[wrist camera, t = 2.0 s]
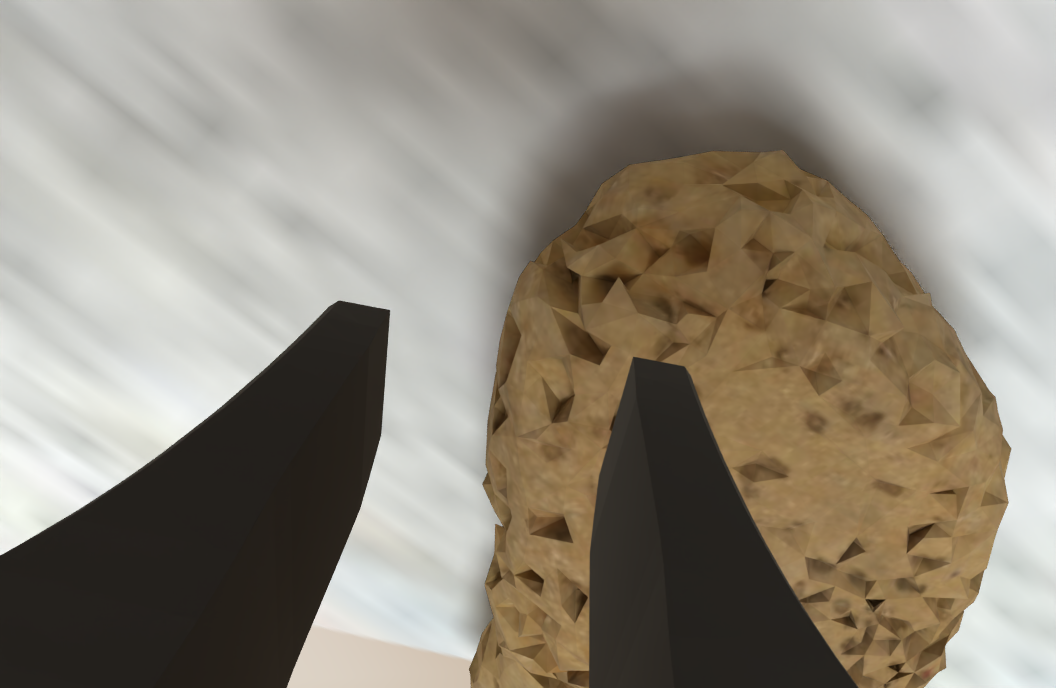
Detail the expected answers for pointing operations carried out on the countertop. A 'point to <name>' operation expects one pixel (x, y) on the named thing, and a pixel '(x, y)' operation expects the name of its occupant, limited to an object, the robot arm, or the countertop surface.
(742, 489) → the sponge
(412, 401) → the countertop surface
